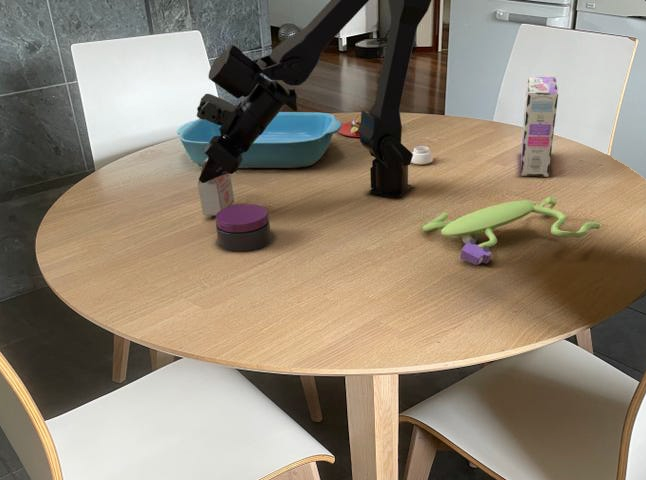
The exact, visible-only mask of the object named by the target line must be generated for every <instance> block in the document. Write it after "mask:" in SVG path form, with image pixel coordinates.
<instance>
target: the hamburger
mask: <svg viewBox="0 0 646 480" xmlns="http://www.w3.org/2000/svg"><path fill="white" fill-rule="evenodd" d="M360 123H361V113H359V114H358V115H357V116H356V118H355V119H354V120H351V121H346V122H344V123H342V126H341V128H340V130H339V131H337V132H336V133H339V134H340V135H343V136H347V137H356V138H360V133H359V132H357V130H358V128H359V126H360Z"/></svg>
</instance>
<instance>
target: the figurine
mask: <svg viewBox="0 0 646 480" xmlns="http://www.w3.org/2000/svg"><path fill="white" fill-rule="evenodd" d="M557 203H558V201H557V198H555V197H552V196H548V197H546V198H545V199H544V200H543V201H542V202H541V203H540V204H538V205H537V203H536V202H535V201H533V200H526V199H522V200H513V201H508V202H503V203H499V204H498V203H497V204H494V205H491V206H487V207H484V208H482V209H481V208H480V209H478V210H474V211H473V212H471V213H467V214H466V215H462V216H460V217H458V218H456V219H455V220H447V219H448V217H449V214H448V213H447V212H446V211H444V212H442V213H441V214H440V215H439V216H437V217H435V218H434V219H432V220H431V221H429V222H427V223H426V224H424V225H423V226H422V232H424V233H428V232H431V231H435V230H437V229H441V230H440V231H441V233H440V234H441V235H442V236H444V237H454V238H458V239H461V240H462V242H463V244H464V245H463V247H462V248H461V251H460V259H461V260H463V261H464V262H465V261H466V262H468V263H470V264H472V265H474V266H479V265H480V264H488V263H489V261H490V259H491V257H492V252H491V251H490V247H494V246H495V245H496V244H497V243H498V239H497V237H496V235H495V233H494V232H493V230H494V231H497V232H501V233H504V231H503V230H501V229H497V228H500V227H503V226H505V225H508V224H511V223H513V222H515V221H518V220H520V219H522V218H523V217H526V216H527V215H528V214H530V213H535V214H540V215H545V216H550V217H553V218H556V219H557V220H555V222H554V223H552V225H551V227H550V232H551V234H552V235H553V236H556V237H558V238H559V237H561V238H581V237H583V236H585V235H586V234H588V231H590V230H593V229H594V230H595V229H600V227H601V224H600V222H599V221H597V220H596V221H588V222H585V223H584V224H583V225H581V227H580V229H579V230H578V231H565V230H560V228H561V227H562V226H563V225H564V224H565V223H566V222H567V220H568V216H567V215H566V214H565V213H563V211H560V210H558V209H554V207H555V206H556V205H557ZM548 204H549V205H550V206H549V207H547V206H546V205H548ZM483 232H484V233H485V235H486V236H487V238H488V239H489V240H488V241H485V242H482V243H478V244H476V243H477V239H478V237H479V235H480V233H483Z"/></svg>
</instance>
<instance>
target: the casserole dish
mask: <svg viewBox="0 0 646 480" xmlns="http://www.w3.org/2000/svg"><path fill="white" fill-rule="evenodd" d="M342 124H343V123H342V122H341V121H340V120H338V119H336V116H335V115H333V114H331V113H328V112H320V111H319V112H316V111H313V112H312V111H280V112H279V113H278V114H277V115H276V116H275V118H274V119H273V120H272V121H271V122H270V124H269V125H268V126H267V127H266V129H265V130H264V132H263V133H262V134H261V135H260V136H259V137H258V138H257V139H256V140H255V141H254V143H253V144H252V145H251V147H250V148H249V150H248V151H247V152H244V153H242V162H241V164H240V165H239V167H238V168H237V169H251V168H253V169H296V168H307V167H309V166H312V165H314V164H316V163H317V162H318V161H319V160H320V159H322V157H323V155H324V154H325V153H326V151H327V150H328V148H329V146H330V144H331V142H332V138H333V134H336V133H338V132H337V131H339V130H340V128H341V126H342ZM221 126H222V125H217V124H214V123H212V122H210V121H207V120H205V119H204V120H202V119H200V118H197V119H195V120H191V121H188V122H186V123H184V124H182V125H181V126H180V127H179V128H178V129H177V130H176V133H177V135H179V139H180V141H181V144H182V145H183V147H184V149H185V151H186V153H187V154H188V156H189V157H190V159H191V160H192V161H193V162H194V163H196V164H198V165H200V166H202V167H203V162H204V161H205V160H206V159H207V158H208V155H206V154H205V152H204V151H203V149H204V148H205V147H206V145H207V144H208V143H209V142H210V140H211V139H212V138H213V137H214V136H221V134H220V130H219V128H220V127H221Z"/></svg>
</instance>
